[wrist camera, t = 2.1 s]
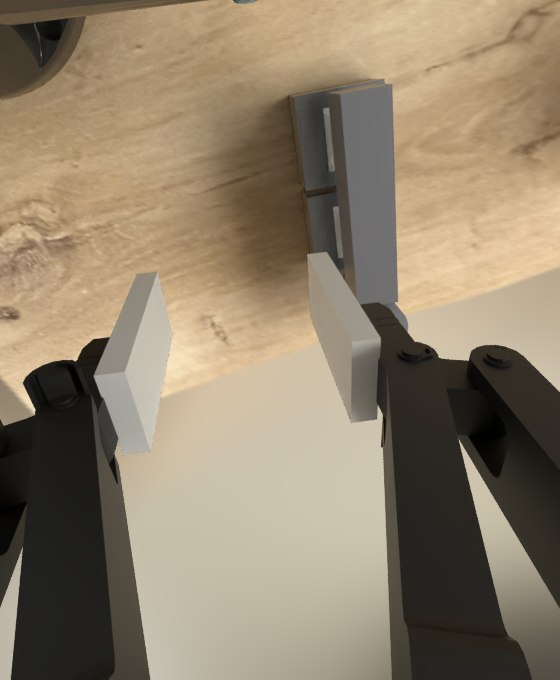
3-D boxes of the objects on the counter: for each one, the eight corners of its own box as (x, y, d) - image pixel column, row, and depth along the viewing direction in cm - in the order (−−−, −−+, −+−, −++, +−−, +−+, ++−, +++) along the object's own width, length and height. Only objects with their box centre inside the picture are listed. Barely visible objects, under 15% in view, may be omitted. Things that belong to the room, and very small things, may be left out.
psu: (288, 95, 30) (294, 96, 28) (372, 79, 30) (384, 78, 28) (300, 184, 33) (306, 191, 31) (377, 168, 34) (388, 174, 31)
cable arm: (316, 94, 26) (330, 96, 23) (382, 81, 26) (404, 82, 23) (342, 336, 35) (354, 360, 32) (391, 326, 35) (408, 349, 32)
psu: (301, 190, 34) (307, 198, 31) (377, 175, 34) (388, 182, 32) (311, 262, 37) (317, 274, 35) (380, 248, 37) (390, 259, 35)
